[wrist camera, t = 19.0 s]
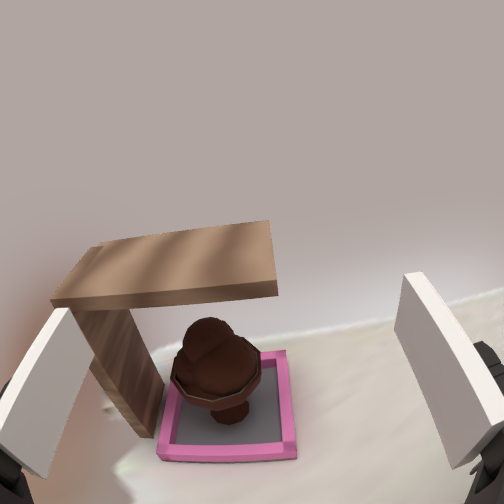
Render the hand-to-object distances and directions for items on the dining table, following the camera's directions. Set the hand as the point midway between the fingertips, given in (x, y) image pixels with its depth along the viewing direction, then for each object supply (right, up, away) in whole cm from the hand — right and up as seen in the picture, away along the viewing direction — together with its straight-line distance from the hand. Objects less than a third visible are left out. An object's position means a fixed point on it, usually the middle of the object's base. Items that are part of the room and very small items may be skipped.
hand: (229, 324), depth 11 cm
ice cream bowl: (-2, -19, +28) cm, 34 cm away
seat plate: (-2, -19, +29) cm, 34 cm away
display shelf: (-5, -19, +29) cm, 35 cm away
